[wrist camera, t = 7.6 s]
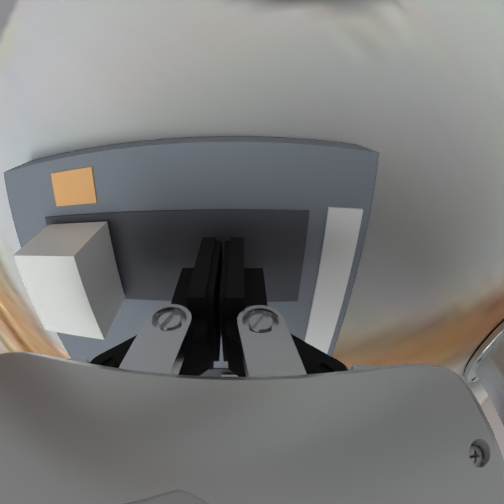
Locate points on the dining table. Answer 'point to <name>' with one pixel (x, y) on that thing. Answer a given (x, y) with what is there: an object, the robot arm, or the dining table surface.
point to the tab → (72, 278)
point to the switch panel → (212, 220)
